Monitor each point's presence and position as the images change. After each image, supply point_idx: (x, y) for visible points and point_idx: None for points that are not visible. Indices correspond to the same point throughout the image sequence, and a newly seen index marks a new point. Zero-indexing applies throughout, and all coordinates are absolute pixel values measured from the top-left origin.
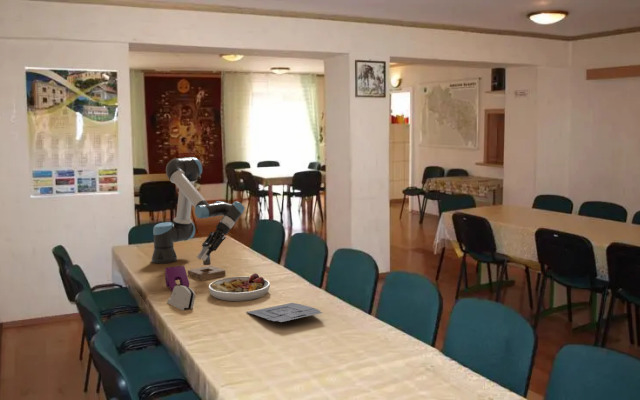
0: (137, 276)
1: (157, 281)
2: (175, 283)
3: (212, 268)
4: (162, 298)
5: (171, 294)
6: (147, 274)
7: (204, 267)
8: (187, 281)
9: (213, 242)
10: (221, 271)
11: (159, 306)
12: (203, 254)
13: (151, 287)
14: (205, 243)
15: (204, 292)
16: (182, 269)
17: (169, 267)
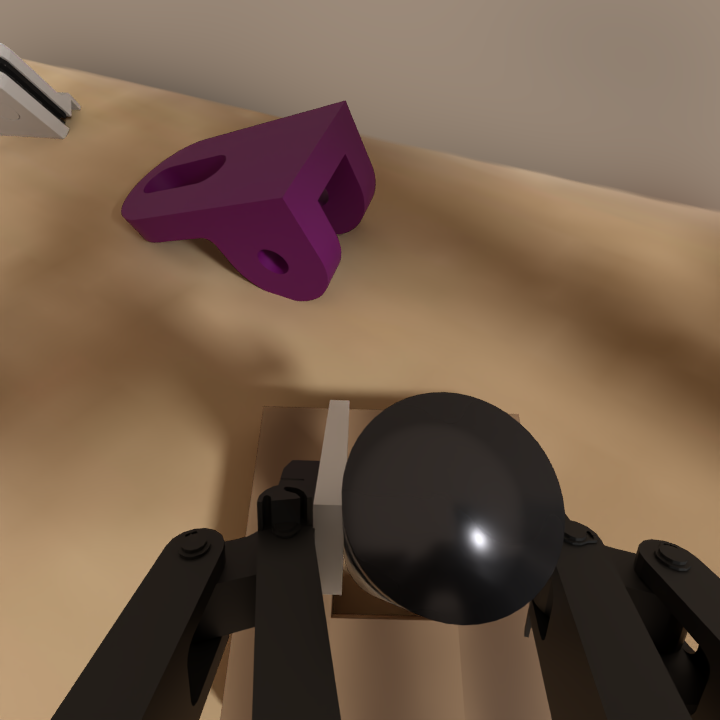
0: (668, 205)
1: (477, 225)
2: (188, 160)
3: (417, 658)
4: (155, 120)
5: (47, 83)
6: (693, 257)
7: (524, 609)
8: (148, 212)
9: (279, 716)
10: (229, 666)
11: (71, 76)
12: (346, 428)
13: (376, 162)
14: (414, 452)
15: (18, 281)
16: (255, 188)
17: (331, 118)
